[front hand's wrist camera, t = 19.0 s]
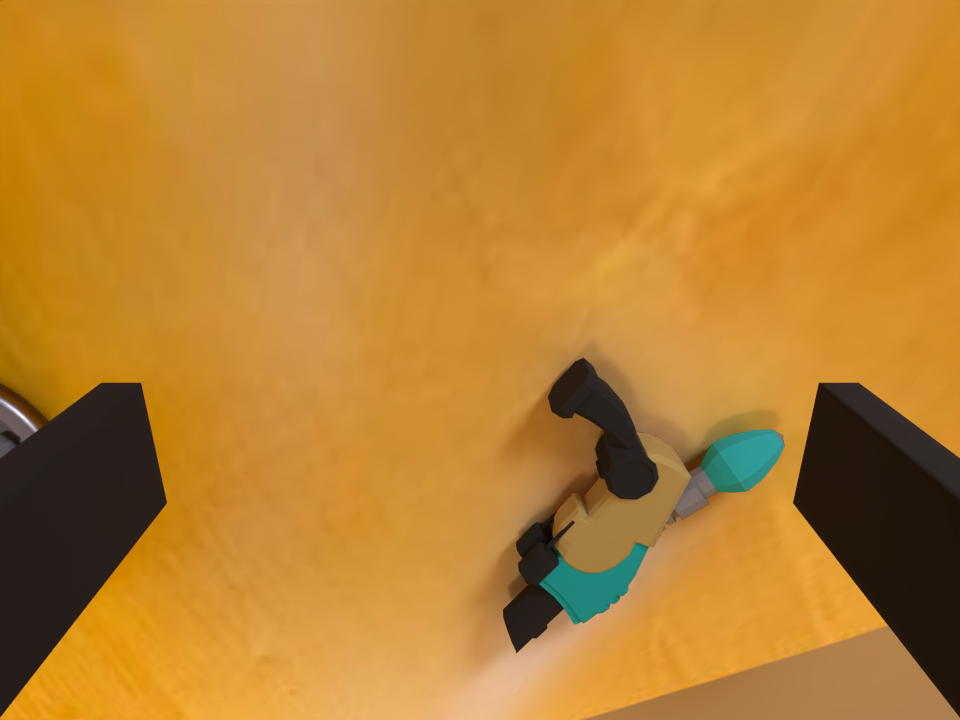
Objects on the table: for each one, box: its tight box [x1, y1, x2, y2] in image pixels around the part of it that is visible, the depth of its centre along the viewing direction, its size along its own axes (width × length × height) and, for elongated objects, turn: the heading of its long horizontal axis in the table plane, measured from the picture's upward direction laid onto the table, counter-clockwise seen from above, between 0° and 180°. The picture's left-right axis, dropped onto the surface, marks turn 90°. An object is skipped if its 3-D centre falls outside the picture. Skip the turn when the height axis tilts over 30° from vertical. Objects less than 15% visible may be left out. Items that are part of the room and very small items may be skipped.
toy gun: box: [503, 358, 785, 653], centre depth 46 cm, size 4×26×15 cm
